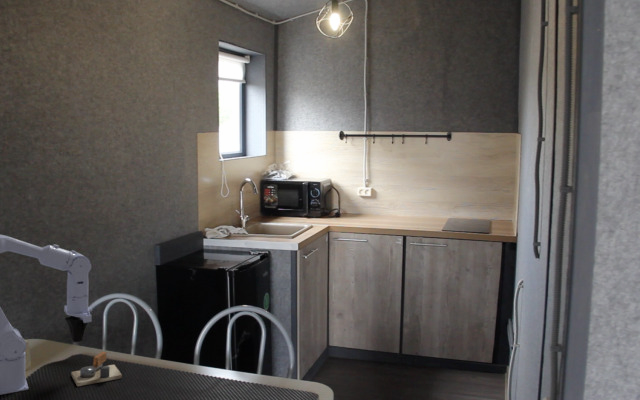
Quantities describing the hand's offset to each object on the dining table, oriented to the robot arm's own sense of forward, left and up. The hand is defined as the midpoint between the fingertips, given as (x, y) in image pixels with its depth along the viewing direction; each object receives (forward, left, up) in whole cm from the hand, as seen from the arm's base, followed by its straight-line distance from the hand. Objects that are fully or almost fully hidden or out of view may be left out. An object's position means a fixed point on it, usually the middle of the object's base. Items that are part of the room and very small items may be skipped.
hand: (77, 341), depth 156 cm
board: (+4, -5, -10) cm, 12 cm away
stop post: (+6, -8, -10) cm, 14 cm away
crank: (+4, -2, -9) cm, 10 cm away
